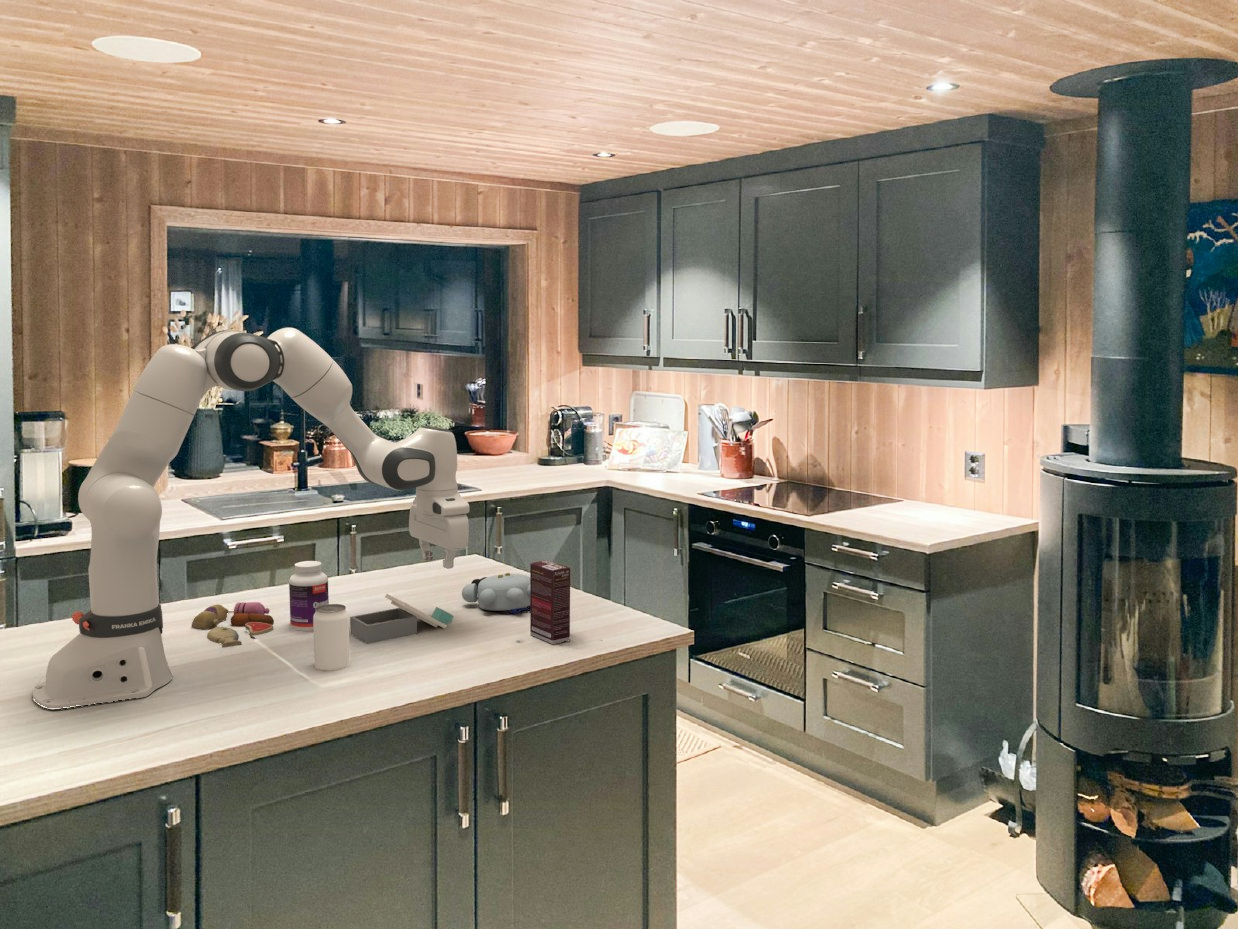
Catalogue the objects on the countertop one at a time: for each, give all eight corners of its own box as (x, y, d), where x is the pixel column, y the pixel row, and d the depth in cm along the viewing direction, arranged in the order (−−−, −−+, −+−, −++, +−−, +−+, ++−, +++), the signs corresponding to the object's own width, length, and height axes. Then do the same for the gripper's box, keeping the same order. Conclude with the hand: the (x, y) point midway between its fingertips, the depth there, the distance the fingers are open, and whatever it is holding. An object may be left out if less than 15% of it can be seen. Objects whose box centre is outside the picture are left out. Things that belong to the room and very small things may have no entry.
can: (331, 676, 190) (329, 614, 188) (307, 670, 193) (305, 609, 192) (356, 667, 195) (355, 606, 194) (333, 660, 199) (331, 601, 197)
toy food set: (178, 622, 224) (177, 604, 223) (251, 609, 235) (250, 592, 234) (222, 651, 205) (221, 632, 204) (299, 635, 216) (298, 617, 215)
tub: (367, 647, 207) (367, 626, 206) (350, 637, 213) (350, 616, 212) (417, 637, 214) (416, 616, 213) (399, 627, 220) (398, 607, 219)
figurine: (559, 605, 237) (504, 598, 251) (556, 569, 237) (502, 564, 251) (502, 621, 225) (448, 611, 239) (499, 583, 224) (445, 576, 238)
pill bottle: (318, 635, 214) (316, 569, 212) (283, 633, 216) (281, 567, 213) (336, 624, 222) (334, 560, 220) (302, 622, 223) (300, 558, 221)
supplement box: (571, 640, 213) (571, 567, 211) (552, 645, 210) (552, 570, 208) (547, 630, 219) (547, 559, 217) (529, 635, 216) (529, 562, 214)
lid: (402, 608, 211) (411, 591, 211) (383, 599, 217) (392, 583, 218) (451, 635, 219) (460, 619, 220) (431, 625, 226) (440, 609, 227)
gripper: (401, 495, 223) (402, 556, 225) (447, 509, 208) (447, 575, 210) (426, 492, 227) (427, 552, 229) (473, 506, 212) (474, 570, 214)
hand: (437, 563), depth 219 cm, fingers open, 8 cm apart
